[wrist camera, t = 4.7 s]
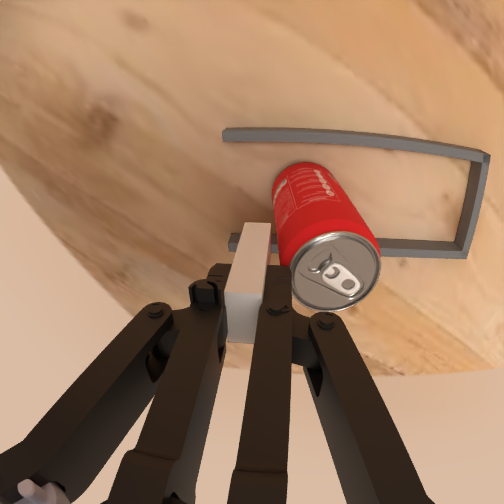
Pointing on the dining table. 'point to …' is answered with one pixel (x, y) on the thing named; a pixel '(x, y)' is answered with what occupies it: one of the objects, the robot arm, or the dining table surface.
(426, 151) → the grey u-shaped frame
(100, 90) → the dining table surface
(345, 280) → the beverage can
